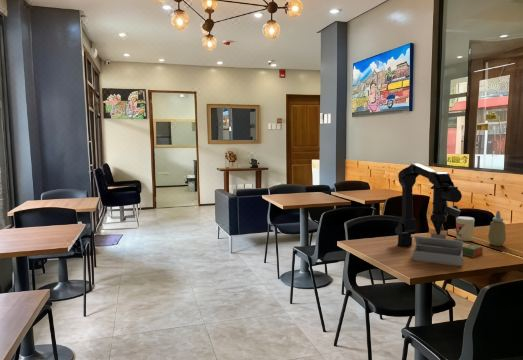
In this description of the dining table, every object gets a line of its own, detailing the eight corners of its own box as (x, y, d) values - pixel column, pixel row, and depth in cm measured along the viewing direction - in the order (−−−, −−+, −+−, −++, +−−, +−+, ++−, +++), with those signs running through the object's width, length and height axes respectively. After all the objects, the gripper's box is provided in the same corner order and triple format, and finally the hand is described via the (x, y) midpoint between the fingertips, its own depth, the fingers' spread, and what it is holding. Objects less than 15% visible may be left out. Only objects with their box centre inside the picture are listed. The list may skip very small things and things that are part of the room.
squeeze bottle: (507, 247, 199) (509, 212, 197) (489, 246, 202) (491, 212, 200) (503, 243, 207) (505, 210, 205) (486, 242, 209) (487, 209, 207)
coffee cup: (452, 237, 221) (452, 216, 220) (468, 237, 221) (469, 216, 220) (459, 241, 212) (460, 219, 211) (477, 241, 212) (478, 219, 210)
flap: (414, 236, 179) (415, 227, 181) (416, 244, 189) (417, 235, 191) (463, 241, 170) (463, 231, 172) (462, 249, 180) (462, 239, 182)
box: (413, 260, 179) (413, 250, 179) (416, 253, 190) (416, 244, 189) (461, 266, 170) (462, 256, 170) (462, 258, 181) (462, 249, 180)
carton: (450, 247, 201) (451, 239, 201) (482, 255, 188) (483, 246, 187) (441, 250, 196) (442, 241, 196) (473, 257, 183) (474, 249, 183)
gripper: (459, 203, 164) (458, 239, 165) (460, 198, 181) (458, 232, 182) (430, 201, 170) (429, 237, 171) (433, 197, 186) (432, 229, 187)
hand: (438, 233), depth 177 cm, fingers open, 3 cm apart
